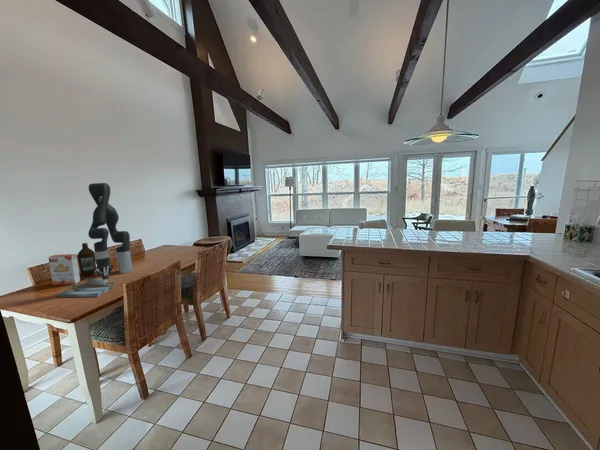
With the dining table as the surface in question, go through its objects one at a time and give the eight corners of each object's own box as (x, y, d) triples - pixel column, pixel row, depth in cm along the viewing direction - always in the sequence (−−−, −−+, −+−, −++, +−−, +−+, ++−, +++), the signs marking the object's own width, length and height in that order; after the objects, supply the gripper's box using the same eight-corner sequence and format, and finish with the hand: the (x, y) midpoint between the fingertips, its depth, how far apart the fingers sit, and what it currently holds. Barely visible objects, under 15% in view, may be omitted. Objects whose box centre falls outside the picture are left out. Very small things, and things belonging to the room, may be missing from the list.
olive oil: (79, 273, 200) (75, 243, 196) (96, 270, 207) (92, 241, 203) (80, 277, 192) (76, 245, 188) (98, 274, 200) (94, 243, 196)
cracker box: (52, 285, 177) (47, 256, 173) (58, 282, 183) (54, 254, 179) (75, 284, 179) (70, 255, 176) (80, 281, 185) (76, 253, 182)
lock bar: (84, 284, 171) (83, 279, 171) (88, 282, 174) (87, 277, 174) (104, 284, 171) (103, 279, 170) (107, 282, 174) (107, 277, 173)
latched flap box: (80, 286, 176) (79, 278, 175) (115, 285, 177) (115, 278, 176) (58, 297, 159) (57, 289, 158) (97, 296, 160) (96, 288, 159)
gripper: (106, 253, 180) (109, 276, 183) (88, 259, 167) (91, 284, 170) (115, 254, 178) (118, 277, 181) (97, 260, 165) (101, 285, 169)
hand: (105, 280), depth 176 cm, fingers closed
